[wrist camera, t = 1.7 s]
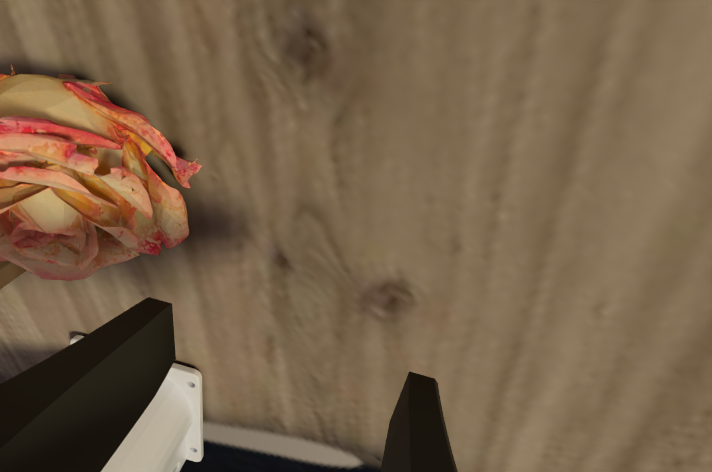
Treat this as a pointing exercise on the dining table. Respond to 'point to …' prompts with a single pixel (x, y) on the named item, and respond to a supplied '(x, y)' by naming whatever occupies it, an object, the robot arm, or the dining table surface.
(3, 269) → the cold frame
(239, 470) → the dining table surface
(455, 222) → the dining table surface
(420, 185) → the dining table surface
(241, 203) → the dining table surface
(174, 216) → the flower
